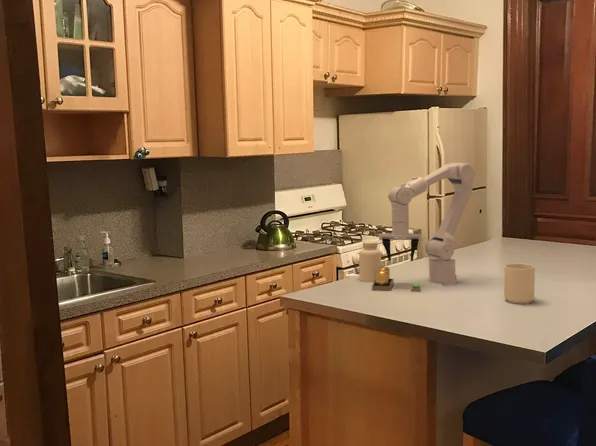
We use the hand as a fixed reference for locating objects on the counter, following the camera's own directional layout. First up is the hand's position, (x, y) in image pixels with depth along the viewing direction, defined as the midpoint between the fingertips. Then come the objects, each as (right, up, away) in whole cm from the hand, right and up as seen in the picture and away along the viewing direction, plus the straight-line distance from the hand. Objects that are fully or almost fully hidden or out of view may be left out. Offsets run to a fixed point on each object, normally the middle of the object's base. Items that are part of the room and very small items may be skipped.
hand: (400, 260), depth 221 cm
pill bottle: (-9, -9, +13) cm, 18 cm away
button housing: (+4, -11, -7) cm, 13 cm away
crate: (-6, -10, +1) cm, 12 cm away
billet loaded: (-5, -9, +4) cm, 11 cm away
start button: (+4, -11, -7) cm, 14 cm away
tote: (+2, -10, 0) cm, 10 cm away
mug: (+35, -12, -19) cm, 41 cm away
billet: (-7, -10, -2) cm, 12 cm away
